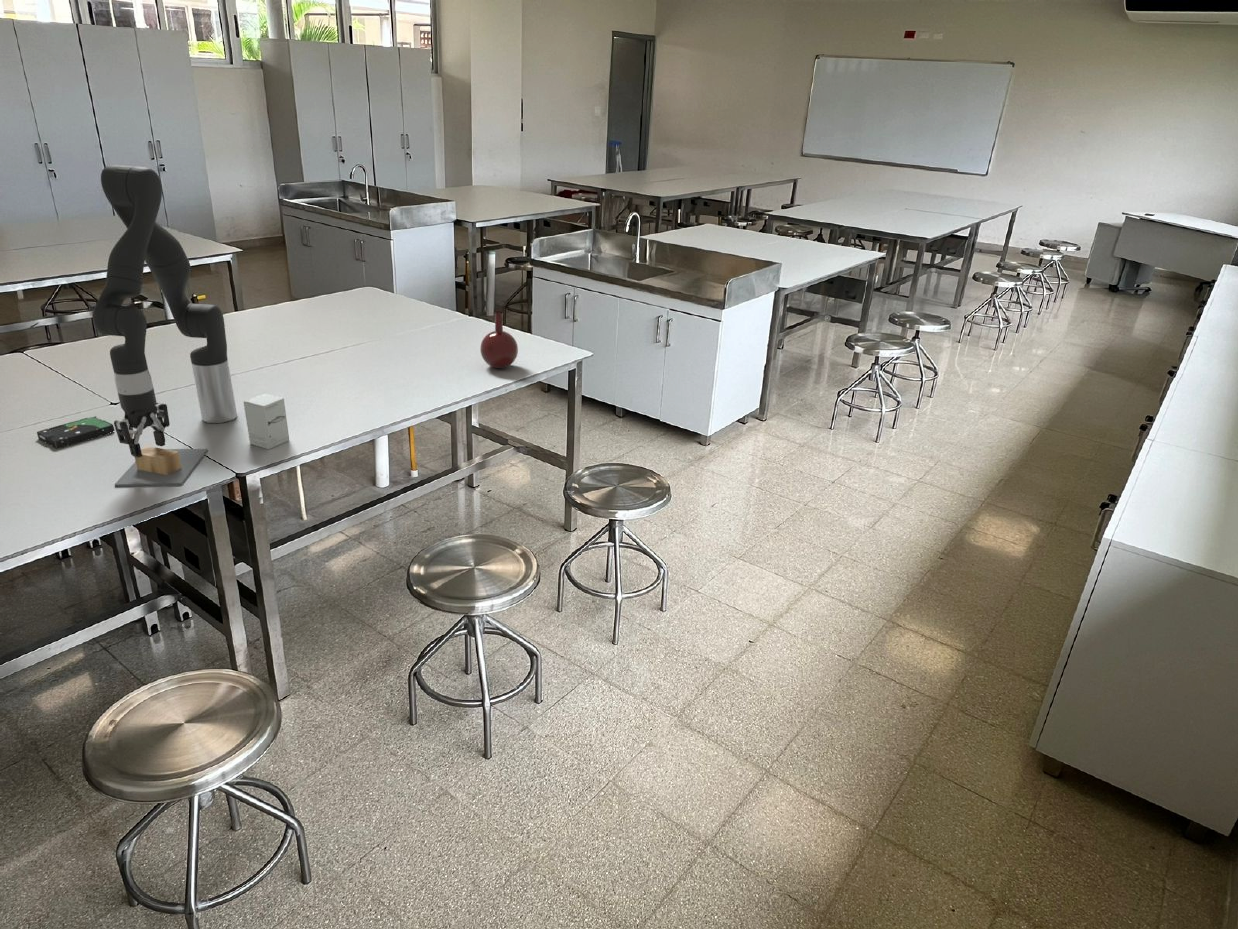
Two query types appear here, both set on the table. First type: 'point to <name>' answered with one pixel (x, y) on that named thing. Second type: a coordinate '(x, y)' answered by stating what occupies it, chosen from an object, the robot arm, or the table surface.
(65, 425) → the disk drive
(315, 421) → the table surface
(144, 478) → the rubber mat
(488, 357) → the round-bottom flask
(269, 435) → the supplement box
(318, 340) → the table surface
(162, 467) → the oak block
